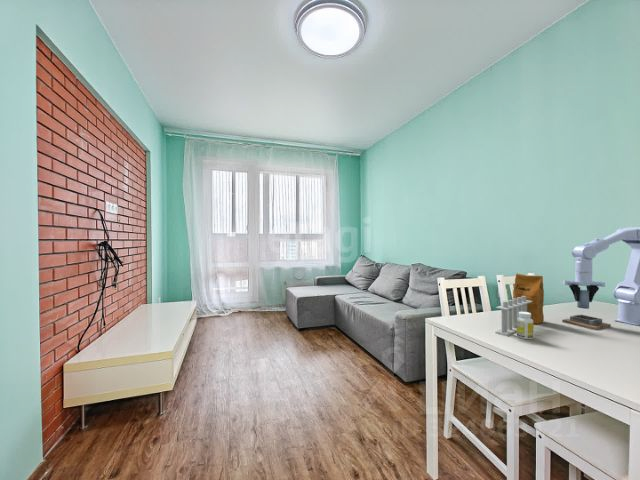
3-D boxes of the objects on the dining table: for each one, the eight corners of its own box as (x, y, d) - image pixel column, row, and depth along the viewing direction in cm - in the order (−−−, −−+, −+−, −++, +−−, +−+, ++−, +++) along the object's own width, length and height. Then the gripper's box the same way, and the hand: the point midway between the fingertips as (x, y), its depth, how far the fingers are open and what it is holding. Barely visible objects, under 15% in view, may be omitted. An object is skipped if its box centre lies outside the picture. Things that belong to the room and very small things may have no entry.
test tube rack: (506, 336, 113) (507, 303, 113) (495, 333, 117) (495, 301, 116) (532, 325, 127) (533, 296, 126) (521, 322, 130) (521, 294, 130)
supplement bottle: (532, 336, 113) (532, 312, 113) (534, 340, 108) (534, 315, 108) (515, 333, 115) (516, 310, 115) (517, 338, 111) (517, 313, 111)
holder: (577, 318, 135) (577, 312, 135) (610, 326, 124) (610, 319, 124) (562, 321, 131) (562, 315, 130) (595, 330, 119) (595, 323, 119)
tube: (580, 306, 132) (580, 289, 132) (591, 308, 128) (591, 290, 128) (575, 307, 130) (575, 289, 130) (586, 309, 127) (586, 291, 126)
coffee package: (516, 315, 142) (517, 272, 141) (547, 321, 131) (547, 275, 131) (508, 318, 136) (508, 273, 136) (538, 325, 126) (539, 276, 125)
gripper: (598, 271, 130) (598, 300, 130) (560, 270, 135) (559, 298, 135) (608, 273, 123) (607, 304, 124) (567, 272, 129) (566, 301, 129)
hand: (583, 301), depth 129 cm, fingers closed on tube, 4 cm apart
